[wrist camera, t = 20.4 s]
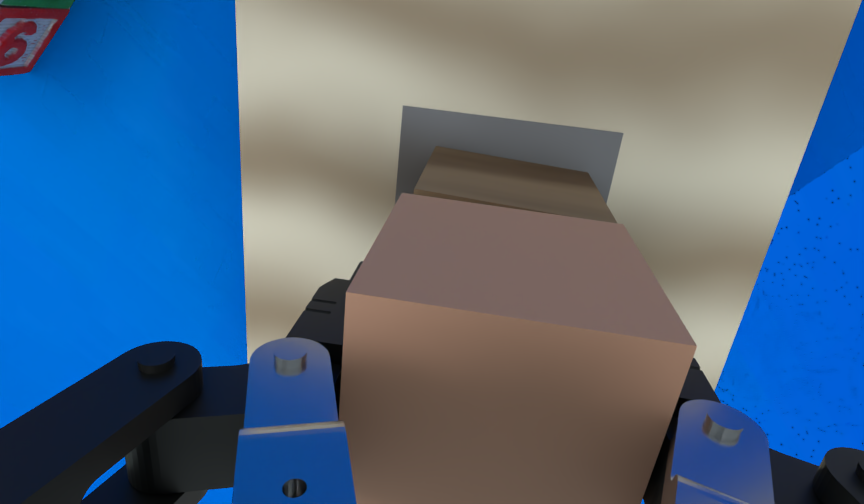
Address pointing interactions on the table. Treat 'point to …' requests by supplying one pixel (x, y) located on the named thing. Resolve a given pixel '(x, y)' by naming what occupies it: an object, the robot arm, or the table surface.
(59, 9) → the stack of blocks
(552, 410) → the terracotta cube
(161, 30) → the table surface
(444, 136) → the cream flat pad
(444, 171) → the walnut cube
